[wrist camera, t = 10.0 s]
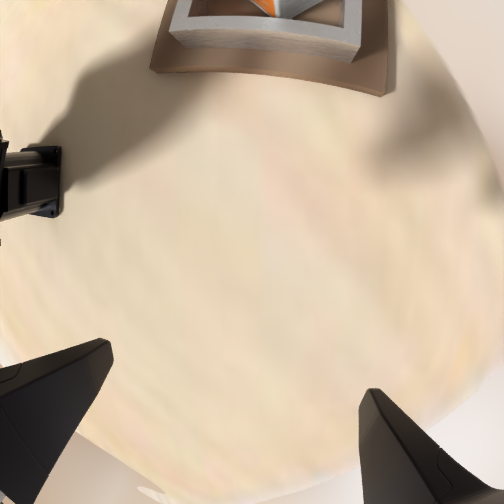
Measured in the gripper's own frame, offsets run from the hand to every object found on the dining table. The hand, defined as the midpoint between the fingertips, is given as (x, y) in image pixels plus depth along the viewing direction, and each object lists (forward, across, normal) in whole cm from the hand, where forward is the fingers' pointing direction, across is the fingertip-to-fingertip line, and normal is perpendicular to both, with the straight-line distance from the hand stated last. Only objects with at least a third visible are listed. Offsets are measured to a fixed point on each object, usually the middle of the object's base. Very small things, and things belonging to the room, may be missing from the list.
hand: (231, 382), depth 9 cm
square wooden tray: (+12, +1, -20) cm, 24 cm away
